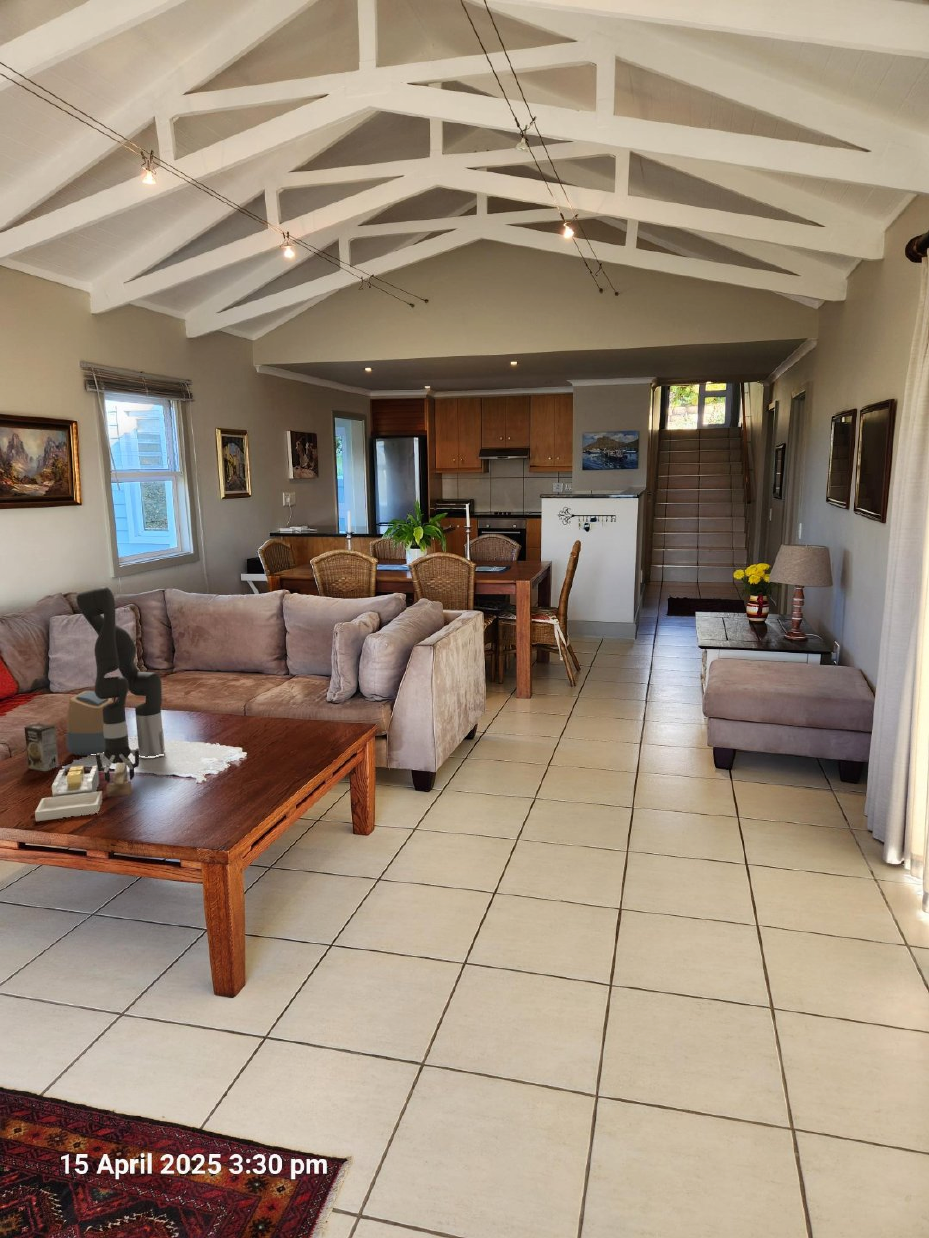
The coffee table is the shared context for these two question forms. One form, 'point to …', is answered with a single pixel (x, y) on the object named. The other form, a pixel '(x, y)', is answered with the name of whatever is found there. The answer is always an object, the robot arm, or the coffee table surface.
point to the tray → (68, 806)
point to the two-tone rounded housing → (86, 724)
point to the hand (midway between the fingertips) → (120, 780)
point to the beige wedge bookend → (119, 782)
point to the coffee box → (41, 746)
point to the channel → (87, 786)
